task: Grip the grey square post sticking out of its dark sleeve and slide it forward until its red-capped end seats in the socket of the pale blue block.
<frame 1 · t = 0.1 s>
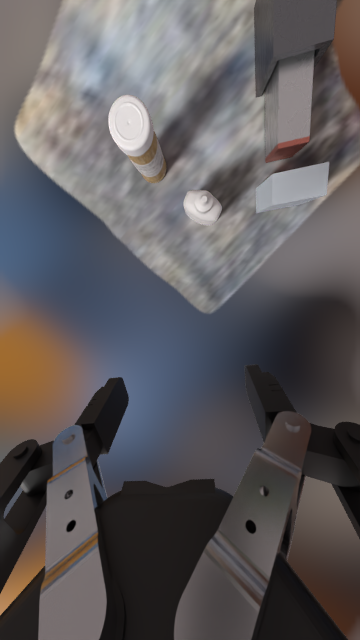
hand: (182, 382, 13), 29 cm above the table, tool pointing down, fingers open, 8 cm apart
eye dropper bottle: (201, 213, 35), on the table
grey square post: (287, 79, 26), point 3 cm above the table, slide at 0.0 cm
socket block: (277, 196, 33), on the table
sprinkles bottle: (153, 168, 33), on the table
sleeve: (279, 52, 27), on the table
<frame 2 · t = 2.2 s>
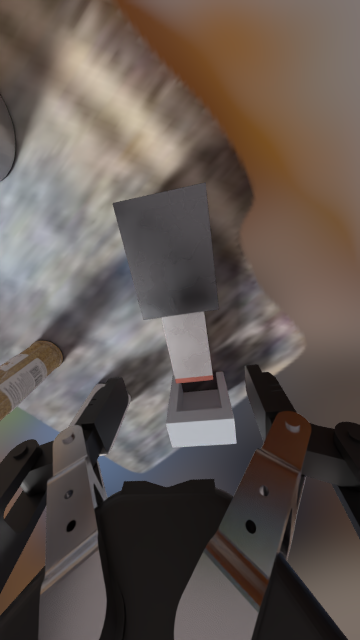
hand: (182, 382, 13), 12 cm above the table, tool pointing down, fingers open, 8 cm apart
eye dropper bottle: (113, 392, 29), on the table
grey square post: (183, 303, 20), point 3 cm above the table, slide at 0.0 cm
socket block: (199, 384, 27), on the table
sprinkles bottle: (49, 353, 27), on the table
sleeve: (177, 258, 21), on the table
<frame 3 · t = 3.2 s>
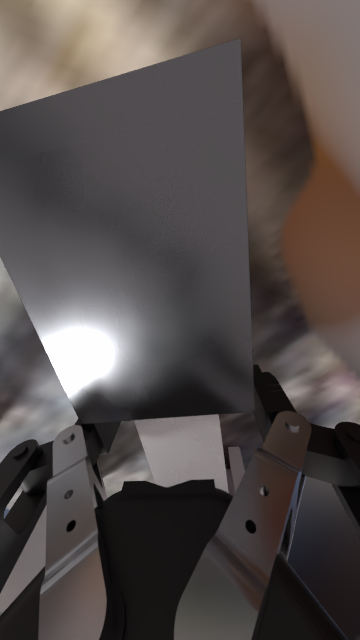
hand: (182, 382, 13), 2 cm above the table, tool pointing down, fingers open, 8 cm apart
eye dropper bottle: (76, 465, 20), on the table
grey square post: (174, 361, 11), point 3 cm above the table, slide at 0.0 cm
socket block: (202, 461, 18), on the table
sleeve: (166, 276, 12), on the table
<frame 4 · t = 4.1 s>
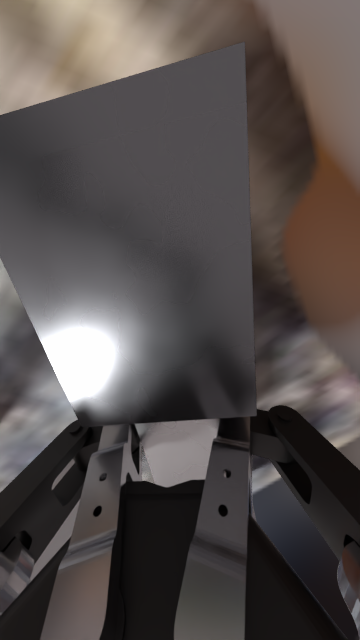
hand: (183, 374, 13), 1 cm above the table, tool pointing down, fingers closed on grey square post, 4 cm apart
eye dropper bottle: (76, 467, 20), on the table
grey square post: (175, 363, 11), point 3 cm above the table, slide at 0.0 cm, touching gripper
sleeve: (167, 278, 12), on the table
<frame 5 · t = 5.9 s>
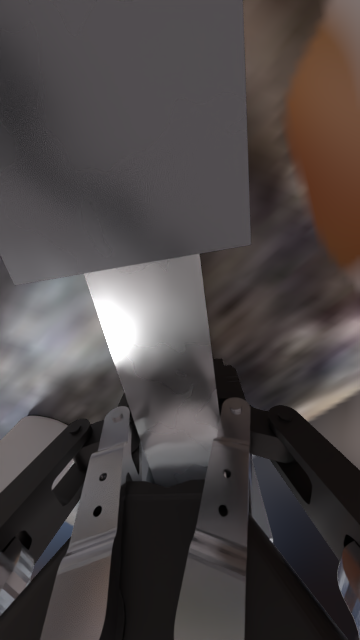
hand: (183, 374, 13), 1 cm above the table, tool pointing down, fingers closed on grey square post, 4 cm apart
eye dropper bottle: (55, 429, 18), on the table
grey square post: (175, 363, 11), point 3 cm above the table, slide at 5.4 cm, touching gripper
socket block: (194, 421, 16), on the table
sleeve: (147, 171, 10), on the table
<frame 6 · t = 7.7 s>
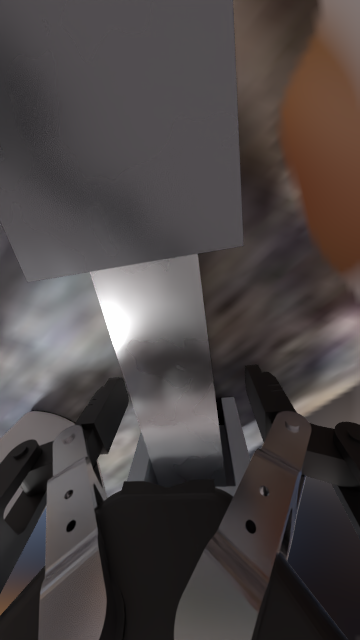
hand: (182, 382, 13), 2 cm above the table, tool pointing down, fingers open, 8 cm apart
eye dropper bottle: (57, 424, 18), on the table
grey square post: (175, 359, 11), point 3 cm above the table, slide at 5.5 cm
socket block: (193, 416, 16), on the table
sleeve: (149, 176, 10), on the table
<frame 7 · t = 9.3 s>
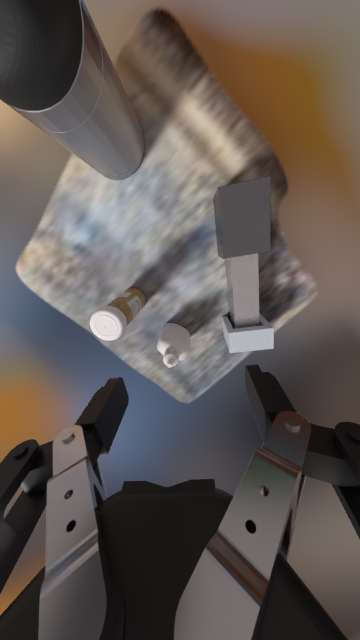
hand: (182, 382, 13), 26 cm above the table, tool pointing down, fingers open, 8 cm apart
eye dropper bottle: (176, 331, 40), on the table
grey square post: (242, 288, 33), point 3 cm above the table, slide at 5.5 cm
socket block: (240, 323, 38), on the table
sprinkles bottle: (135, 298, 38), on the table
sleeve: (235, 227, 32), on the table
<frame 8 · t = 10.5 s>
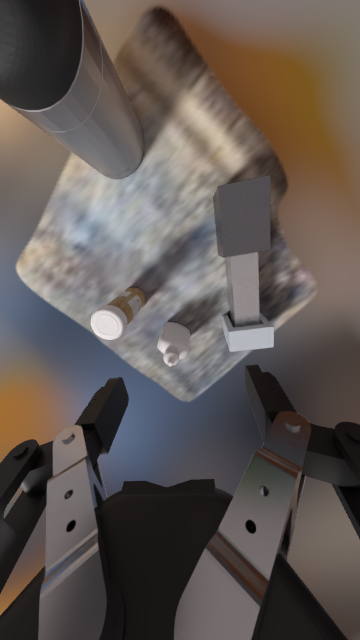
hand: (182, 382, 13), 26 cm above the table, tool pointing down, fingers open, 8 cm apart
eye dropper bottle: (176, 330, 40), on the table
grey square post: (242, 287, 33), point 3 cm above the table, slide at 5.5 cm
socket block: (240, 322, 38), on the table
sprinkles bottle: (135, 298, 38), on the table
sleeve: (235, 226, 32), on the table
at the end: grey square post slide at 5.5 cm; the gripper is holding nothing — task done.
